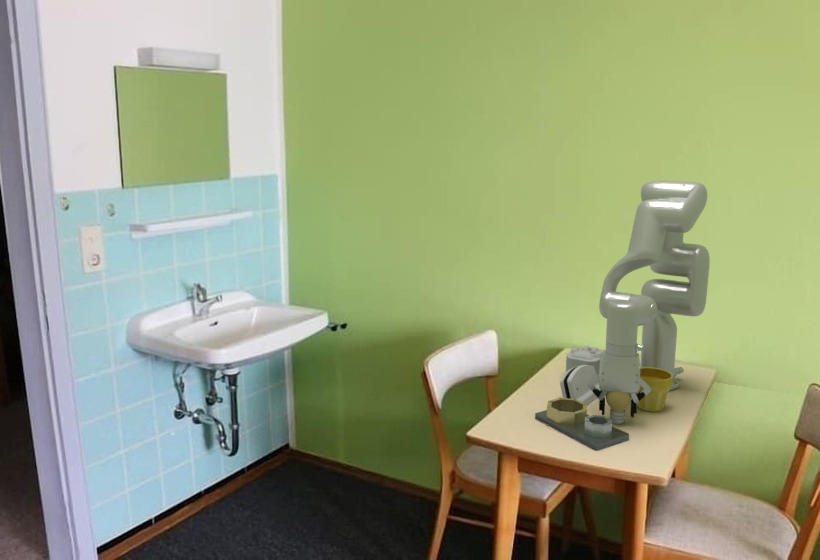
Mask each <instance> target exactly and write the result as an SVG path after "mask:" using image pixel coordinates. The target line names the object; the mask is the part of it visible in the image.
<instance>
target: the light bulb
mask: <svg viewBox="0 0 820 560" xmlns="http://www.w3.org/2000/svg"><path fill="white" fill-rule="evenodd" d="M631 400H632V396H631V394H630V393H625V392H622V391H613V392H607V394H606V395H605V402H606V403H607V405H608V406H609V408H610V410H609V418H610V419H612V424H613V423H614V424H617V425H619V424H620V425H621V424H623V423H625V420H626V411H625V410H626V409H627V408H628V407H629V406H630V405H631Z"/></svg>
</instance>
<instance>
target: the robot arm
mask: <svg viewBox="0 0 820 560" xmlns="http://www.w3.org/2000/svg"><path fill="white" fill-rule="evenodd" d="M640 198H641V202H640V203H639V204H638V206H637V208H636V212H635V216H634V221H633V225H632V231H631V234H630V235H631V236H630V240H629V245H628V248H627V249H628V250H627V253H626V254H625V255H624V256H623V257H621V258H620V259H619V260H618V261H617V262H616V263H615V264H614V265H613V266H612V267H611V268H610V270H609V271H608V273H607V274H606V276H605V277H604V280H603V284H602V288H601V293H600V297H599V304H598V308H599V313H600V315H601V316H602V317H603V318H604V319H606V330H605V332H606V333H605V349H604V350H602V351H603V352H602V355H601V360H600V368H599V374H598V375H597V376H596V377H594V378H593V379H592V380H590V381H589V382H588V383H587V386H588V387H589V388H590V389H591V390H592V392H593V393H594V394H595V395H596V396H597V397H598V398H597V399H598V400H599V401H598V404H599V405H598V406H599V407H598V411H600V412H601V416H605V411H606V394H607V392H613V391H622V392H625V393H630V394H631V402H630V409H629V410H630V411H629V412H630V414H629V415H630V417H631V418H632V419H633V418H635V414H637V413H638V404H637V403H638V402H639V401H640V400H641V399H642V398H644V397H645V395H647V394H648V393H649V392H650V391H651V387H650V386H649V385H648V384H647V383H646V382H645V381H644V380H643V379H642V378H641V377H640V368H641V367H654V368H660V369H664V370H667V371H669V372H670V373H672V374H673V384H672V388H671V389H670V390H669V391H674V390H676V389H678V388H679V386H680V382H679V379H677V378H676V376H677V375H680V374H682V373H684V371H685V369H684V367H682V366H678V367H676V366H675V365H676V363H675V362H676V349H677V338H678V337H677V335H678V326H677V324H676V320H674V317H673V316H672V315H678V316H683V317H684V316H685V317H686V316H687V317H699V316H701V315H702V314H703V313H704V311H705V309H706V304H707V295H708V286H709V275H710V274H709V273H710V262H711V261H710V252H709V250H708V248H707V247H706V246H704V245H701V244H696V243H687V242H684V234H685V233H688V232H690V231H691V230H692V229H693V228H694V226H695V225H696V223H697V221H698V219H699V218H700V216H701V214H702V213H703V211H704V210H705V207H706V204H707V201H708V189H707V187H706V186H705V185H704V184H703V183H701V182H699V181H698V182H696V181H681V180H680V181H679V180H676V181H675V180H651V181H647V182H645V183H643V185H642V186H641V190H640ZM649 266H650V267H649ZM646 267H649V268H650V270H651V271H652V272H653V273H656V274H659V275H665V276H673V277H682V278H687V280H688V281H681V280H673V279H665V278H653V279H649V280H647V281H645V282H644V283H643V285H642V286H641V287H642V288H641V290H640V294H635V293H629V292H620V291H617V288H618V285H619V283H620V282H621V281H622V280H623V278H624V277H625V276H627V275H628V274H630V273H631V272H634V271H637V270H640V269H642V268H646ZM640 326H642V329H641V330H642V331H641V333H642V334H641V344H638V330H639V329H638V327H640ZM639 352H640V354H639ZM597 382H599V388H600V389H601V390H600V391H599V390H598V389H597V388H596V387H595V386H594V385H595V384H596V383H597ZM640 385H641V386H642V387H643V388H644V389H643V390H642V391H640V392H639V390H640ZM637 392H639V393H638V394H637Z"/></svg>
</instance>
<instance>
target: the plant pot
mask: <svg viewBox="0 0 820 560" xmlns="http://www.w3.org/2000/svg"><path fill="white" fill-rule="evenodd" d="M640 377H641V378H642V379H643V380H644V381H645V382H646V383H647V384H648V385H649V386H650V387H651V391H650V392H649V393H648V394H647V395H645V397H644V398H642V399H641V400H640V401H639V402H638V403H637V408H639V409H641V410H643V411H646V412H660V411H663V409H664V407H665V403H666V400H667V397H668V394H669V391H671V390H670V389H671V388H672V384H673V374H672V373H670V372H669V371H667V370H664V369H660V368H654V367H641V368H640ZM643 389H644V388H643V387H642V386H641V385H640V390H639V392H640V391H642V390H643ZM639 392H637V394H638V393H639Z"/></svg>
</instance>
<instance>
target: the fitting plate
mask: <svg viewBox="0 0 820 560" xmlns="http://www.w3.org/2000/svg"><path fill="white" fill-rule="evenodd" d="M546 404H547V406H546V409H545V410H542V411H538V412H535V413H534V419H535V420H538V422H541V423H543V424H545V425H547V426H548V427H551V428H552V429H555V430H556V431H558V432H559V433H561V434H564V435H565V436H567V437H570V438H571V439H573V440H574V441H577V442H579V443H580V444H583V445H584V446H587V447H589V449H592V450H594V451H599V450H602V449H605V448H608V447H612V446H614V445H617V444H620V443H623V442H626V441H629V440H630V433H628V432H626V431H624V430H622V429H620V428H618V427H615V426H613V422H612V419H610V417H607V416H605V415H602V414H601V415H600V414H599V415H598V414H591V415H590V414H588V405H587V404H586V403H583V402H581V401H579V400H577V399H569V398H563V397H557V398H555V399H550V400H548V401H547V403H546Z"/></svg>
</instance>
